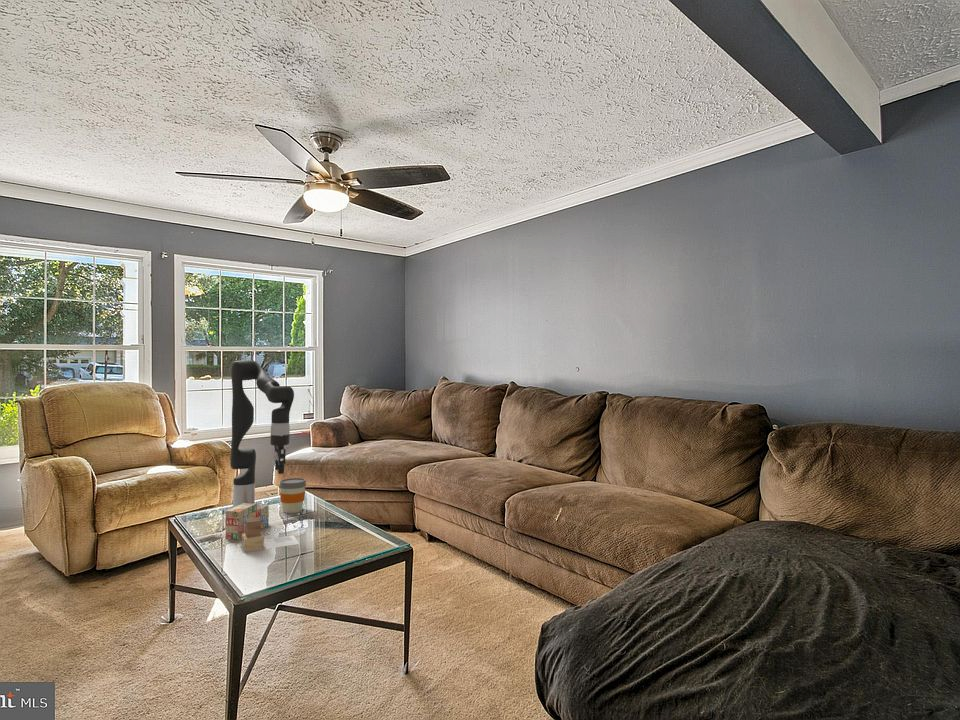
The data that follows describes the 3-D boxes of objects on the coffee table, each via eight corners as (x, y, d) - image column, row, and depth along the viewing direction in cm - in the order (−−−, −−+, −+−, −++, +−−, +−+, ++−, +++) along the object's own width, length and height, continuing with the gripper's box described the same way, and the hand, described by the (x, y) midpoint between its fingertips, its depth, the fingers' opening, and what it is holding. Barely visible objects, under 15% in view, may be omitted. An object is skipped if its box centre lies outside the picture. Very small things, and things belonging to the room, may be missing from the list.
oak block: (242, 546, 201) (242, 533, 201) (261, 543, 205) (261, 531, 205) (244, 552, 195) (244, 539, 195) (263, 549, 199) (263, 536, 199)
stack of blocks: (256, 524, 232) (256, 497, 232) (268, 525, 230) (269, 498, 231) (225, 539, 210) (225, 510, 211) (238, 541, 209) (239, 511, 210)
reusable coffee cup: (310, 508, 258) (311, 479, 258) (293, 515, 246) (294, 484, 247) (291, 506, 262) (291, 477, 263) (273, 512, 251) (273, 482, 251)
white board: (236, 544, 204) (236, 543, 204) (293, 536, 216) (293, 535, 216) (239, 554, 194) (239, 553, 194) (299, 544, 205) (299, 543, 205)
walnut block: (245, 534, 201) (245, 519, 201) (258, 532, 204) (259, 517, 204) (246, 537, 197) (247, 522, 197) (260, 535, 199) (261, 520, 199)
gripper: (268, 431, 219) (267, 469, 219) (273, 436, 207) (272, 475, 207) (286, 430, 223) (286, 467, 223) (292, 435, 210) (291, 474, 210)
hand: (279, 471), depth 215 cm, fingers open, 8 cm apart
